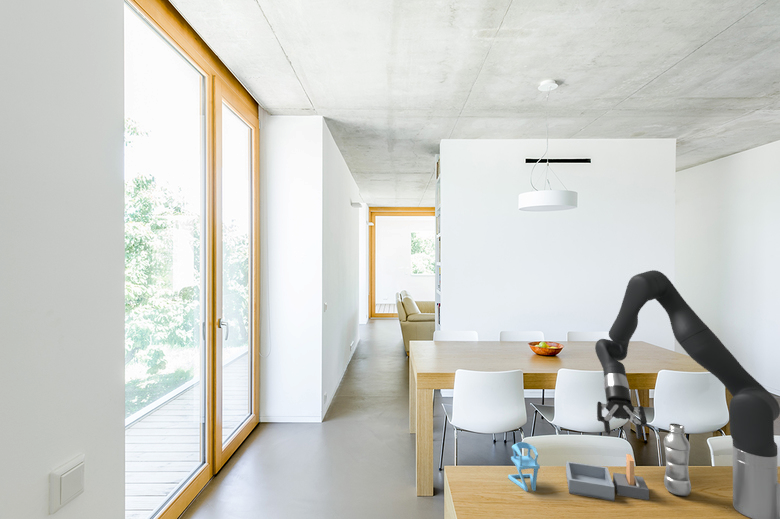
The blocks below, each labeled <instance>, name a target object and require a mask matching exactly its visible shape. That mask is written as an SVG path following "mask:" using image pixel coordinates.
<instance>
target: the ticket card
mask: <svg viewBox="0 0 780 519" xmlns="http://www.w3.org/2000/svg"><path fill="white" fill-rule="evenodd" d="M625 455H626V456H625V457H626V462H625V465H626V467H625V468H626V469H625V470H626V471H625V472H626V479H627V482H628V484H629V485H632V486H634V475H635V460H634V458H633V456H632V454H629V453H626V454H625Z"/></svg>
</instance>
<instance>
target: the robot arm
mask: <svg viewBox="0 0 780 519" xmlns="http://www.w3.org/2000/svg"><path fill="white" fill-rule="evenodd" d="M627 283H628V284H627V286H626V289H625V291H624V292H625V293H624V296H623V299H622V303H621V306H620V308H619V311H618V314H617V316H616V318H615V320H614V322H613V324H612V326H611V327H610V329H609V332H608V337H609V339H607V338H606V339H605V338H601V339H598V340H597V342H596V343H595V347H594V349H595V354H596V356H597V358H598V360H599V362H600V365H601V367H602V370H603V371H602V372H603V379H604V381H603V382H604V383H603V384H604V392H605V399H606V400H605V401H606V403H602V402H601V401H597V404H596V417H597V419H596V420H597V421H598V422H601V423H603V426H604V427H603V429H604V432H605V433H606V434H607V435H608V436H609V435H611V425H610V421H611V420H612V419H613V418H614V419H618V420H619V419H622V420H628V421H629V422H630V423H632V424H633V425H634V426H635V434H636V439H638V440H639V439H641V438H642V436H643V431H642V430H643V429H642V427H643V428H644V427H646V426H647V423H648V421H647V416H646V412H645V410H644V407H643V406H642V405H640V406H634V405H633V403H632V398H631V392H630V385H629V382H628V378H627V374H626V373H627V372H626V367H625V364H623V363H622V362H621V361H623V360H625V359H626V358H627V355H628V350H629V343H630V340H631V339H632V337H633V335H634V334H635V332H636V330H637V328H638V323H639V320H638V319H639V318H638V316H639V313H640V311H641V309H642V308H643V307H644V306H645V304H647V302H649V301H652V300H656V301H657V302H658V303H659V304H660V305H661V307H662V308H663V309H664V310H665V312H666V314H667V316H668V319H669V322H670V326H671V330H672V333H673V336H674V338H675V340H676V341H677V342H678V344H679V346H681V348H682V349H683V350H684V351H685V352H686V354H688V356H689V358H690V357H691V359H692V360H693V361H695V363H697V364H698V365H699V366H701V367H702V368H704V369H705V370H706V371H707V372H709V373H710V374H711V375H713V376H715V378H717V379H718V380H719V382H720V383H722V384H723V386H724V387H725V388H726V389H727V391H728V393H729V394H730V395H731V396H732V398H731V399H730V400H729V408H728V409H729V410H728V411H729V412H728V413H729V415H728V418H729V432H730V436H731V439H732V507H733V508H734V509H735V510H736V512H738V513H740V514H742V515H744V516H745V517H747V518H750V519H780V483H779V482H778V444H777V443H776V442H775V432H774V431H775V430H774V429H775V427H774V426H775V425H774V421H776V420H777V419H778V418H779V416H780V404H779V402H778V401H777V399H776V398H775V396H774V395H773V394H772V393H771V392H769V390H767V389H766V388H765V387H764V386H763V385H762V384H761V383H760V382H758V380H756V378H754V377H753V376H752V375H751V374H750V373H749V372H748V371H747V370H746V368H744V367H743V365H741V363H740V362H739V361H738V359H737V358H736V357H735V355H733V354H732V352H730V350H729V349H728V348H727V347H726V345H724V343H723V342H722V340H720V338H719V337H718V336H717V335H716V334H715V333H714V332H713V330H711V329H710V328H709V326H708V325H707V324H706V323H705V322H704V321H703V320H702V319H701V318H700V316H699V315H698V314H697V312H695V310H693V309H692V307H691V306H690V305H689V303H687V301H686V300H685V299H684V298H683V296H682V295H681V294H680V293H679V291H678V290H677V288H676V287H675V285H674V284H673V283H672V281H671V280H670V279H669V278H668V276H667V275H665V274H664V273H663V272H661V271H659V270H653V269H652V270H647V271H645V272H641V273H638V274H635V275H633V276H632V277H630V279H629V281H628V282H627ZM605 409H606V411H608V413H607V414H606V415H605V416H603V411H604V410H605ZM634 412H636V414H637V415H639V416H638V417H639V419H638V417H637V416H636V415H635V414H634Z"/></svg>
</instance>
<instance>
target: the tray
mask: <svg viewBox="0 0 780 519" xmlns="http://www.w3.org/2000/svg"><path fill="white" fill-rule="evenodd" d="M565 476H566V482H567V487H568V488H567V489H568V493H569V494H572V495H578V496H584V497H590V498H595V499H601V500H606V501H612V502H615V486H614V483H613V478H612V477H611V473H610V471H609V469H608V467H607V466H601V465H595V464H589V463H581V462H576V461H575V462H574V461H568V460H566V461H565Z"/></svg>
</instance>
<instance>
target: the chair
mask: <svg viewBox="0 0 780 519" xmlns="http://www.w3.org/2000/svg"><path fill="white" fill-rule="evenodd" d="M511 449H512V452H513V456H510V460H511V461H512V463H513V464H514V465H515V467H516V470H517V472H518V473H517V474H508V475H507V476H508V478H507V479H508V480H510V481H511V482H512V483H514V484H515V485H517V486H518V487H520V488H521V489H522V490H524V491H525V492H529V490H528V489H529V487H528V485H527V482H526V480H525V478H529V480H530V486H531V489H532V491H534V492H536V491H537V489H536V486H537V479H538V472H539V469H541V465H540V464H539V463H538V458H539V453H538V451H537V450H538V449H537V448H536V446H534V445H532V444H530V443H528V442H524V441H520V442H516V443H514V444H513V445H512V446H511ZM520 449H527V453H526V454H527V455H522V452H521V450H520ZM531 450H532V451H533V454H534V455H535V457H534V458H533V457H532V455H531ZM517 455H518V456H517ZM528 469H532V470H533V474H532V473H522V471H523V470H528ZM519 478H520V479H521V480H520V481H519V480H518V479H519Z"/></svg>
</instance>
